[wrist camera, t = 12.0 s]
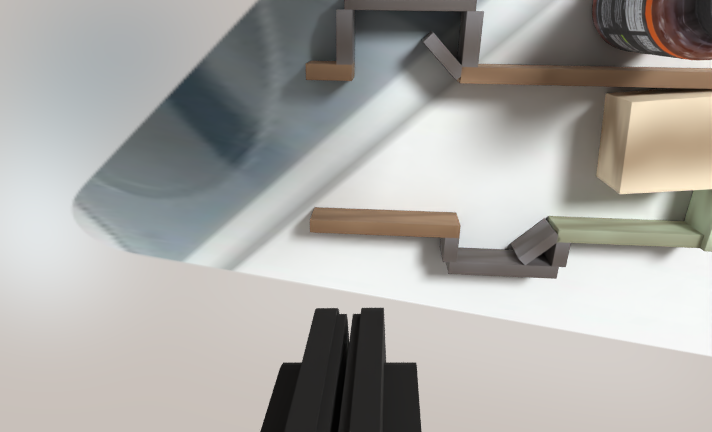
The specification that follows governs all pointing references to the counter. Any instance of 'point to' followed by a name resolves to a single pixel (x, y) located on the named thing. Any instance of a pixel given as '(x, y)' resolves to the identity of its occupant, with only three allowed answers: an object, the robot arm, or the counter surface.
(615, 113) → the block
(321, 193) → the counter surface
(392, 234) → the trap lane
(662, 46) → the supplement bottle
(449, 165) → the counter surface
